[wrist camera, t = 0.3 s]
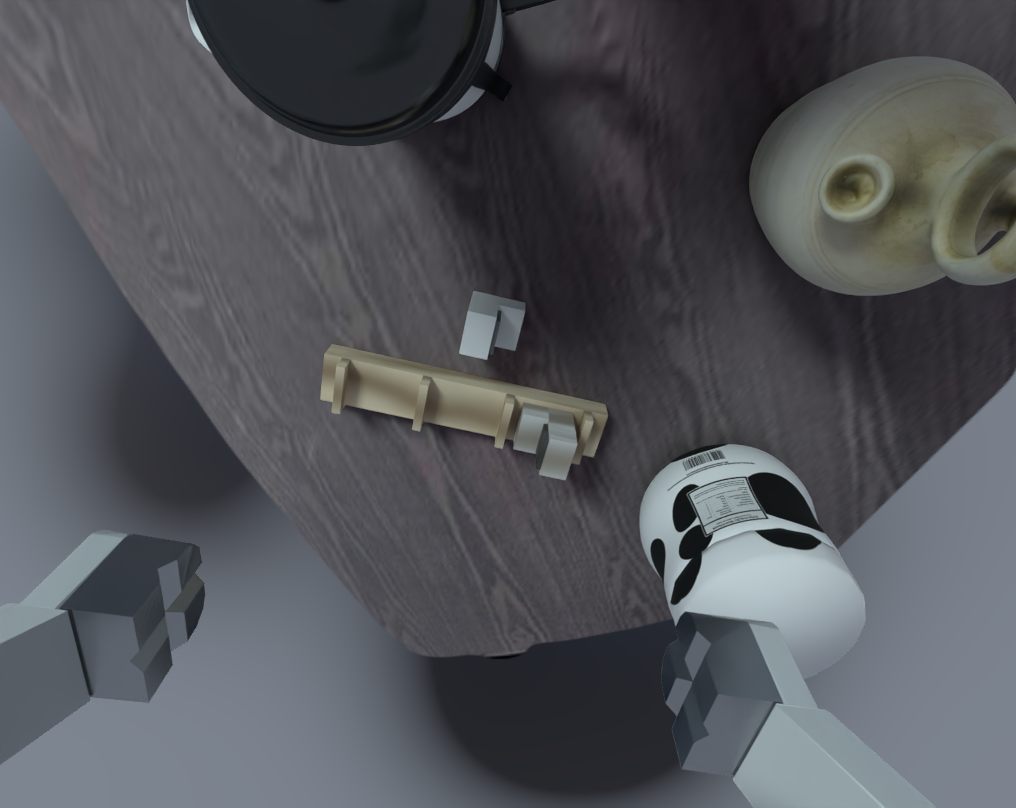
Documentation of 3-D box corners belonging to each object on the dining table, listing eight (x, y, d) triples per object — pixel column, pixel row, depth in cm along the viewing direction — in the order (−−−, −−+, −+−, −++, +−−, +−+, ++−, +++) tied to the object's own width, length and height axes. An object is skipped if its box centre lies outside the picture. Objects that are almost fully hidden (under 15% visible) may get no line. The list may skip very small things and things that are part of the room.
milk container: (724, 578, 70) (782, 718, 54) (603, 520, 67) (627, 652, 51) (826, 474, 63) (929, 601, 47) (697, 403, 60) (760, 514, 44)
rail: (332, 344, 58) (303, 380, 50) (605, 404, 60) (616, 447, 52) (327, 388, 60) (299, 429, 52) (591, 444, 62) (600, 492, 54)
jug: (691, 210, 51) (820, 293, 29) (812, 23, 44) (1099, -56, 22) (828, 291, 54) (1041, 423, 32) (960, 126, 47) (1343, 147, 25)
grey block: (473, 290, 55) (467, 310, 49) (525, 302, 55) (525, 324, 50) (465, 329, 57) (459, 353, 51) (515, 341, 57) (514, 365, 52)
